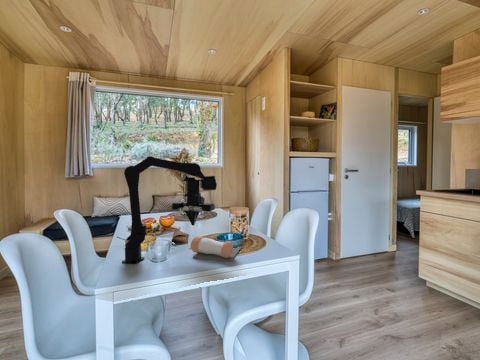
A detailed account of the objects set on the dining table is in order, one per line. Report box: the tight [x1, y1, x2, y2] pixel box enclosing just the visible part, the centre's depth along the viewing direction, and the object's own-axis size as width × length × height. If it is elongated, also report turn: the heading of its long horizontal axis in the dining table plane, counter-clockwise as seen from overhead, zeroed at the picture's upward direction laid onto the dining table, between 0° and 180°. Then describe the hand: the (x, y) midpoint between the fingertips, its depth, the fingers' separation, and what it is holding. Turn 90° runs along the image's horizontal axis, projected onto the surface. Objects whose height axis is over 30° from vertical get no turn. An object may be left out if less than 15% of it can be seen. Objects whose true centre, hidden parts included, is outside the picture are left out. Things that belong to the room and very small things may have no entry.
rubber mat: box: [193, 246, 243, 262], centre depth 118 cm, size 18×17×1 cm
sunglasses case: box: [171, 229, 190, 246], centre depth 139 cm, size 18×7×7 cm
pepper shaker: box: [190, 235, 234, 258], centre depth 113 cm, size 7×7×19 cm
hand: (193, 225), depth 117 cm, fingers closed
